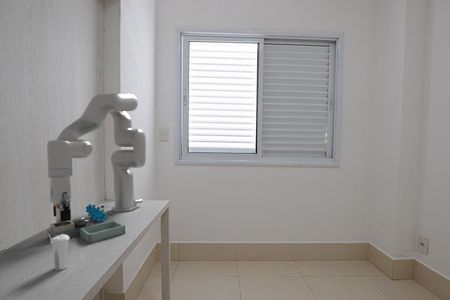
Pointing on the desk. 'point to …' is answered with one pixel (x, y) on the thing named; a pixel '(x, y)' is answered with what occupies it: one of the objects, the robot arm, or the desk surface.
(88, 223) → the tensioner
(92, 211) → the gear
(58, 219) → the pin
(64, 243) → the milkshake
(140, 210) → the desk surface
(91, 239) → the tray
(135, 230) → the desk surface
